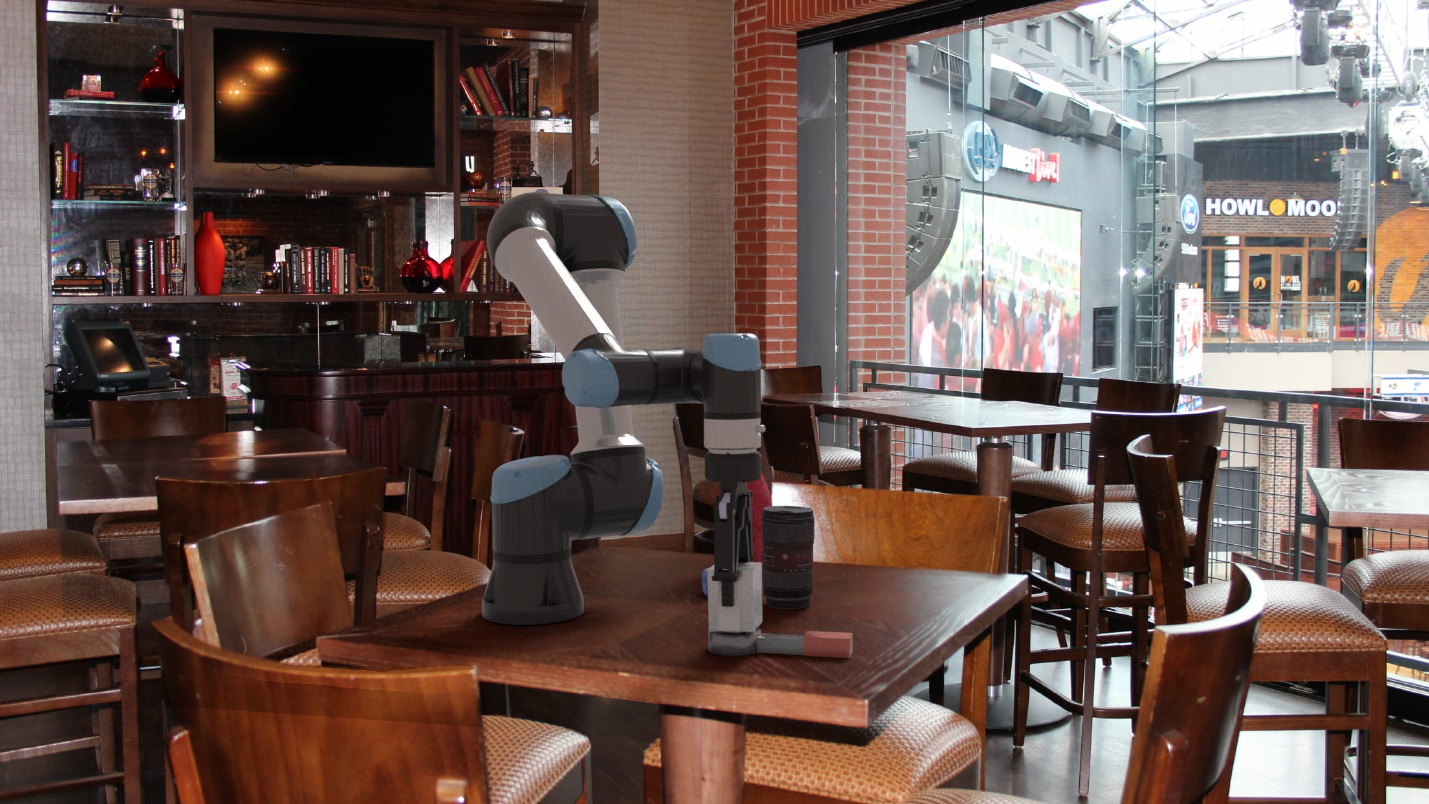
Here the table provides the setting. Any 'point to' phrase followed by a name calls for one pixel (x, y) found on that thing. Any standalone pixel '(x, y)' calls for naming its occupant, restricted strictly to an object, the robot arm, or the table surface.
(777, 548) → the camera lens
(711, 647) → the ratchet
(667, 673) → the table surface
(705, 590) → the decorative dice
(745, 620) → the light grey block
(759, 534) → the wine bottle
